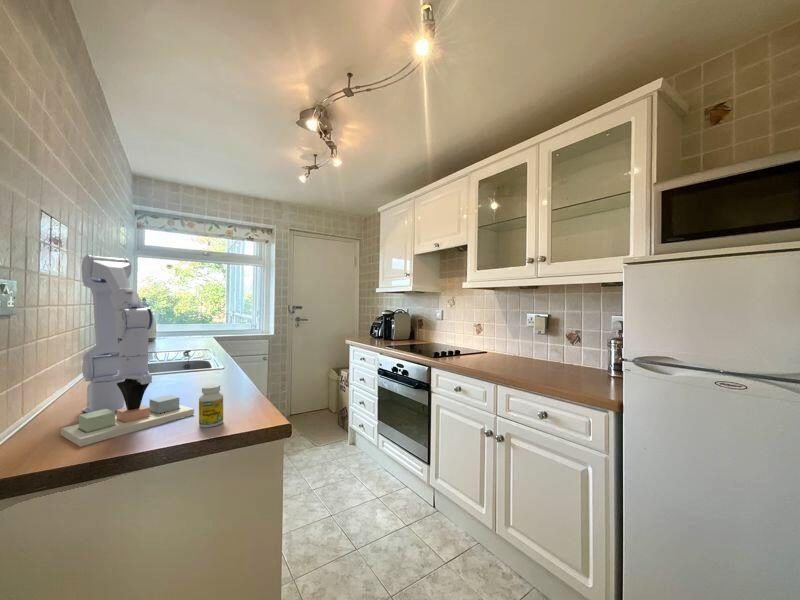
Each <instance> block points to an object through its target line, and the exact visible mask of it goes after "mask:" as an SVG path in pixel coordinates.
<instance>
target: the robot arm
mask: <svg viewBox="0 0 800 600" xmlns="http://www.w3.org/2000/svg"><path fill="white" fill-rule="evenodd" d="M131 275H132V263H131V261H130V260H129V259H128V258H127V257H124V258H119V257H110V256H101V255H100V256H98V255H91V254H85V256H83V258H82V260H81V278H82V282H83V286H84V287H86V288H89V289H90V292H91V295H92V301H93V318H94V319H93V320H94V330H95V331H94V333H95V334H94V335H95V346H93V347H91V349H88V350H87V351H85V353H84V354H83V357H82V366H81V367H82V368H81V369H82V370H81V371H82V376H83V378H84V380H86V381H89V383H88V385H87V388H86V408H85V407H83V408H82V409H81V410H82V411H83V412H85V413H89V412H94V411H99V410H103V409H108V410H111V411H113V412H115V413H116V412H117V410H119V409H124V408H127V410H134V409H138V408H140V405H142V402H143V397H144V394H145V393H146V390H147V388H148V387H149V385H150V384H152V382H153V381H152V380H153V379H152V378H153V375H152V374H150V371H149V330H150V329H152V327H153V322H154V315H153V311H152V310H151V308H150V307H149V306H147V305H143V302H142V301H141V298H140V296H139V294H138V292H137V290H135V289H133V288H130V287H131V286H130V284H129V278H130V277H131Z"/></svg>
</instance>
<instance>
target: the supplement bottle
mask: <svg viewBox="0 0 800 600" xmlns="http://www.w3.org/2000/svg"><path fill="white" fill-rule="evenodd" d="M220 391H221V385H220V384H208V385H207V384H206V385H204V386H202V387H201V392H202V395H200V396H199V398H198V425H199V427H200V428H213V426H214V427H217V426H219V425H221V424H223V423H224V394H223V393H222V392H220Z"/></svg>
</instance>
